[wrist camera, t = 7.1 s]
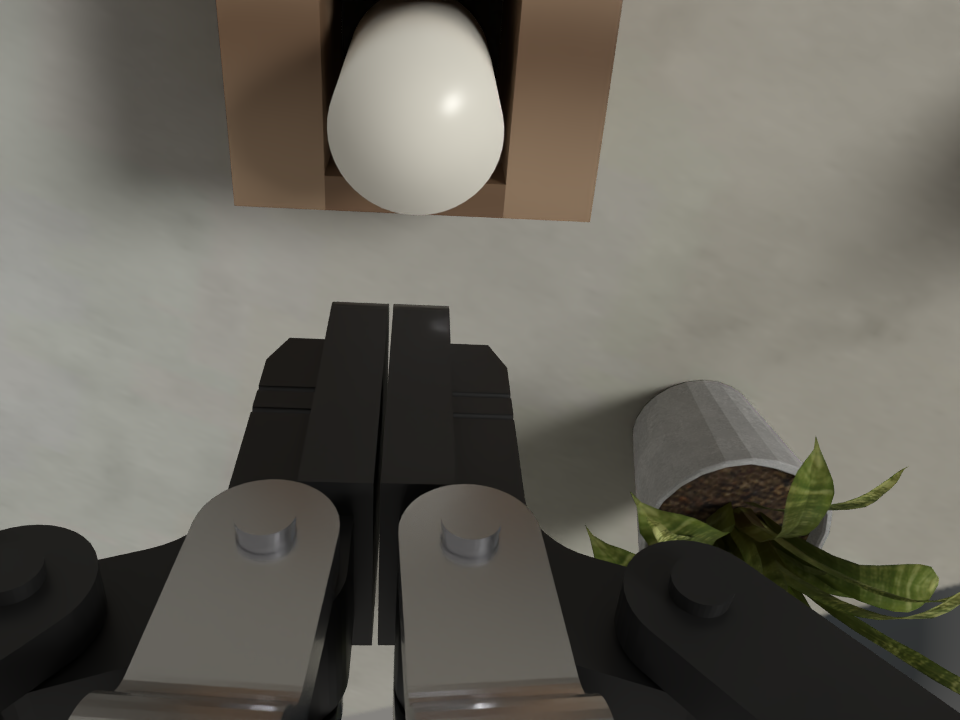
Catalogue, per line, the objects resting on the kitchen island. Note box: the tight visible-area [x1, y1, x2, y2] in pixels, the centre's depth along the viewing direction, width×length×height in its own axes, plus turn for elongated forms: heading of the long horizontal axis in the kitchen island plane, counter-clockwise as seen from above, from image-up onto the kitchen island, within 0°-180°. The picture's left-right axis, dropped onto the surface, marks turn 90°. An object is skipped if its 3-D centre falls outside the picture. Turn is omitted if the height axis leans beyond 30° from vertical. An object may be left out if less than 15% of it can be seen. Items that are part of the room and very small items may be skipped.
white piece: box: [327, 0, 504, 215], centre depth 22 cm, size 4×4×6 cm
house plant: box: [585, 380, 960, 695], centre depth 30 cm, size 14×14×16 cm
